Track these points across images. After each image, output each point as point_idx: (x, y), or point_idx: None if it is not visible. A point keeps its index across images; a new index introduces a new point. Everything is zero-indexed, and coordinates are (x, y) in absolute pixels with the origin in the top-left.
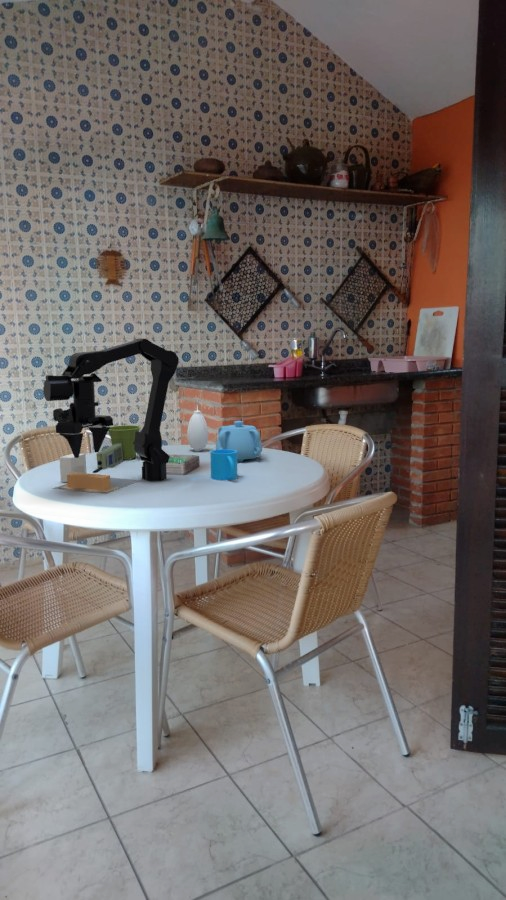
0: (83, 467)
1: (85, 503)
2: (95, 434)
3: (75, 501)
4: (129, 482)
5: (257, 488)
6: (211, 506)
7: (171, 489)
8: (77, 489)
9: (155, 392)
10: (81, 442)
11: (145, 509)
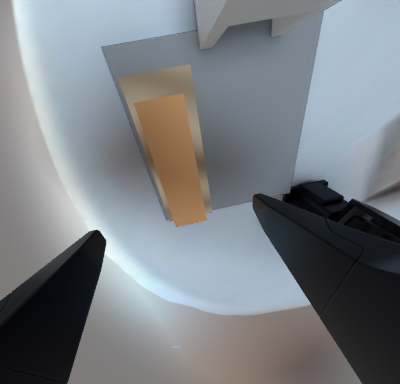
0: (299, 14)
1: (112, 218)
2: (343, 282)
3: (104, 194)
4: (265, 189)
5: (289, 291)
6: (206, 305)
7: (259, 246)
8: (145, 152)
9: None
10: (72, 357)
11: (155, 284)
